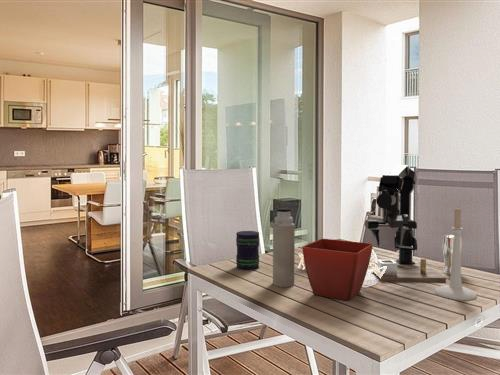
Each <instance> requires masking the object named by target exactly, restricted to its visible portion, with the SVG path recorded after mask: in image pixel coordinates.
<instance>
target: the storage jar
mask: <svg viewBox="0 0 500 375" xmlns="http://www.w3.org/2000/svg"><path fill="white" fill-rule="evenodd" d="M235 239H236V240H235V243H236V255H235V257H236V259H235V261H236V269H237V270H240V271H246V272H247V271H257V270H258V269H260V254H259V247H260V232H259V231H256V230H242V231H237V232H236V238H235Z"/></svg>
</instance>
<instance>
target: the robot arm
mask: <svg viewBox="0 0 500 375" xmlns="http://www.w3.org/2000/svg"><path fill="white" fill-rule="evenodd" d="M417 179H418V178H417V174H416V172H415V171H414V170H413V169H411V168H410V166H409V165H407V164H398V165H395V168H394V169H393V170H392V171H391V172H387V173H383V174H382V176H381V177H380V179H379V184H378V188H377V191H378V192H381V193H380V194H379V195H378V196H377V197H376V199H375V202H376V204H377V207H379V208H380V209H382V210H381V211H383V212H382V219H381V221H379V220H377V219H366V220H365V221H364V227H365V228H366V229H368V230H370V232H372V235H373V238H374V240H375V243H376V245H377V247H380V229H379V227H389V228H391V229H395V228H398V229H397V230H396V231H395V235H394V249H395V250H396V249H398V259H396V260H395V262H397V263H398V264H401V265H407V264H408V265H415V264H416V262H415V261H414V260H413V256H414V255H413V251H417V250H418V241H417V238H416V236H415V231H414V229H416V230H417V229H418V224H417V222H416V221H415V220H413V219H411V218H412V216H411V215H412V214H411V212H412V193H413V191H414V190H415V188H416V185H417V181H418V180H417Z"/></svg>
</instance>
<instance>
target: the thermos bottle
mask: <svg viewBox="0 0 500 375" xmlns="http://www.w3.org/2000/svg"><path fill="white" fill-rule="evenodd" d="M276 210H277V212H276V216H275V217H274V223H272V285H273V286H275V287H281V288H288V287H294V285H295V267H296V266H295V261H296V260H295V251H296V250H295V246H296V245H295V244H296V242H295V241H296V240H295V237H296V236H295V235H296V233H295V232H296V231H295V230H296V229H295V228H296V226H295V223H294V218H293V216H291V210H292V209H290V208H285V207H284V208H282V207H281V208H277V209H276Z"/></svg>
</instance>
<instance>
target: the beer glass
mask: <svg viewBox="0 0 500 375" xmlns="http://www.w3.org/2000/svg"><path fill="white" fill-rule="evenodd" d="M454 237H455V236H454V234H444V235H443V238H442V252H443V253H442V254H443V260H444V261H443V262H444V265H443V266H444V267H443V270H442V272H443V273H444V274H448V275H451V266H452V254H453V242H454ZM462 245H463V242H462V236H461V235H460V251H461V252H462V247H463V246H462Z"/></svg>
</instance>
